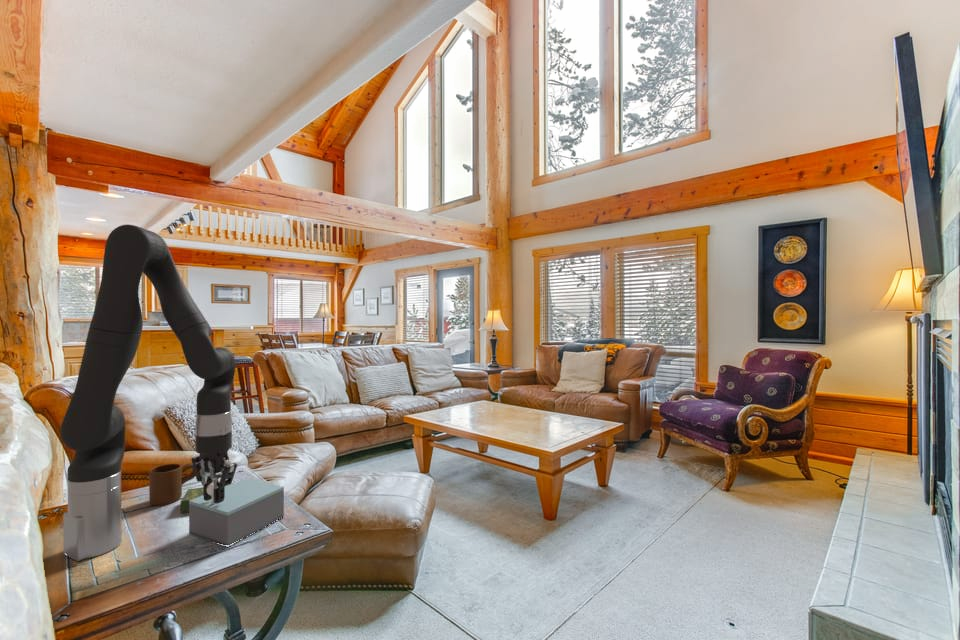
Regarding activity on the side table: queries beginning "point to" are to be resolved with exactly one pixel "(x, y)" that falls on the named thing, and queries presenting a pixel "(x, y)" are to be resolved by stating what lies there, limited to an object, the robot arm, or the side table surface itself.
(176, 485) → the mug
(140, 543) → the side table surface
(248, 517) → the storage box
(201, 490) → the carton
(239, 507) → the lid flap
